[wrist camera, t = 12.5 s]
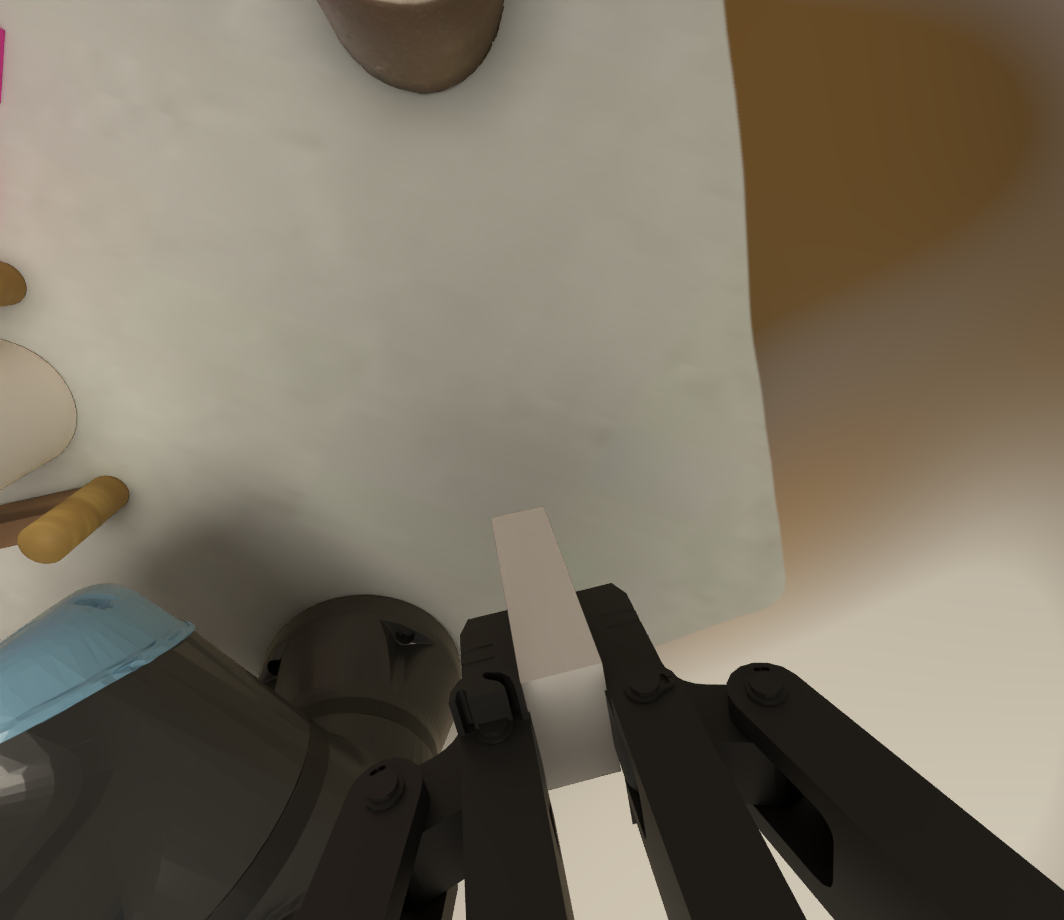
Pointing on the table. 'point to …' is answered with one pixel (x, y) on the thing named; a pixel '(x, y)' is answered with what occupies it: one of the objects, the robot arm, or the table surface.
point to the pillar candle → (416, 38)
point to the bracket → (1, 56)
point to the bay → (59, 517)
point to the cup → (31, 413)
